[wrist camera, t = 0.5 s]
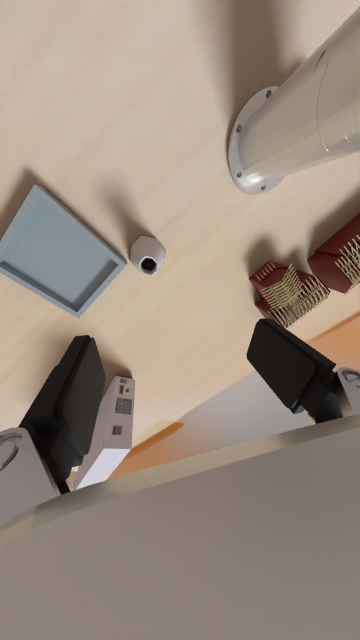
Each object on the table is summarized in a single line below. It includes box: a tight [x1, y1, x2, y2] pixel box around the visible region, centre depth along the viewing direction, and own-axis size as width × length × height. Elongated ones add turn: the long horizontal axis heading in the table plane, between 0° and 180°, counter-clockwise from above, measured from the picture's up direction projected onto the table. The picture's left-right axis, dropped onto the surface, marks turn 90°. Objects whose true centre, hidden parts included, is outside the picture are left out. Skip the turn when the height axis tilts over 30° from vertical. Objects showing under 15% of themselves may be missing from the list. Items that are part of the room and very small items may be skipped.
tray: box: [0, 184, 127, 318], centre depth 30 cm, size 16×16×2 cm
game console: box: [73, 375, 135, 491], centre depth 46 cm, size 6×27×20 cm, turn 149°
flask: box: [130, 235, 166, 277], centre depth 29 cm, size 7×7×10 cm
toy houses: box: [249, 213, 360, 329], centre depth 36 cm, size 45×20×10 cm, turn 134°
